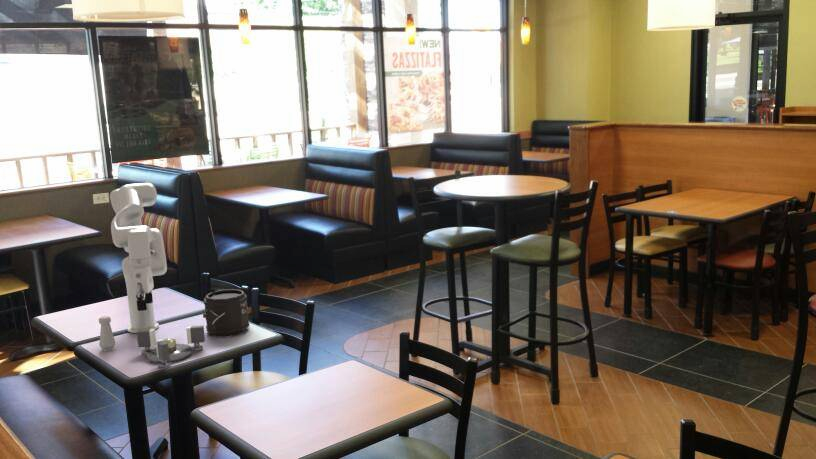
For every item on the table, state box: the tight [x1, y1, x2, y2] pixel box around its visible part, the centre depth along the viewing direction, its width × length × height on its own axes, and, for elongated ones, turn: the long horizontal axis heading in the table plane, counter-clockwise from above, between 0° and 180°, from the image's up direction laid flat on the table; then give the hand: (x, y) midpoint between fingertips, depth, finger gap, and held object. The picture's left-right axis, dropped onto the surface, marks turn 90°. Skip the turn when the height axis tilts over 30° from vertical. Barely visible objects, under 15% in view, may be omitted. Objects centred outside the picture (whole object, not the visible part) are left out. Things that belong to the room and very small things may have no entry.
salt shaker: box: [98, 315, 116, 352], centre depth 285 cm, size 6×6×13 cm
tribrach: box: [141, 337, 204, 369], centre depth 272 cm, size 21×23×7 cm
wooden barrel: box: [202, 288, 251, 338], centre depth 301 cm, size 18×18×16 cm
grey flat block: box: [136, 329, 157, 351], centre depth 278 cm, size 2×6×8 cm, turn 97°
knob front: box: [155, 338, 170, 364], centre depth 264 cm, size 2×6×8 cm, turn 36°
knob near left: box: [185, 324, 206, 347], centre depth 281 cm, size 2×6×8 cm, turn 97°
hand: (145, 306), depth 276 cm, fingers open, 9 cm apart
